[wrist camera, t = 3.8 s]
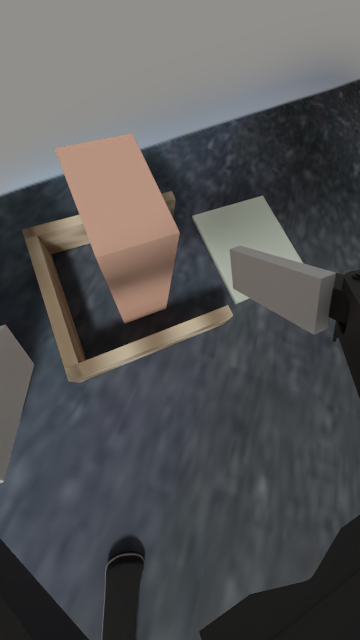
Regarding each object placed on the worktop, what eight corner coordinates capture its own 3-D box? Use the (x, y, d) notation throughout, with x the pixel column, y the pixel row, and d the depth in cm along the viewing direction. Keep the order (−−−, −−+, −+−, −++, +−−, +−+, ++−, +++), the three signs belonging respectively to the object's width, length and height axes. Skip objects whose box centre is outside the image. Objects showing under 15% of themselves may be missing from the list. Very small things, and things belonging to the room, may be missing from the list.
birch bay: (169, 212, 31) (171, 191, 27) (223, 324, 27) (233, 315, 24) (37, 248, 27) (21, 229, 24) (80, 382, 24) (68, 381, 20)
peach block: (141, 251, 29) (132, 133, 15) (166, 308, 27) (179, 232, 14) (101, 263, 28) (54, 148, 14) (124, 323, 26) (95, 257, 13)
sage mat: (261, 197, 33) (262, 195, 33) (307, 275, 31) (309, 274, 30) (191, 217, 31) (192, 215, 31) (235, 304, 28) (236, 303, 28)
